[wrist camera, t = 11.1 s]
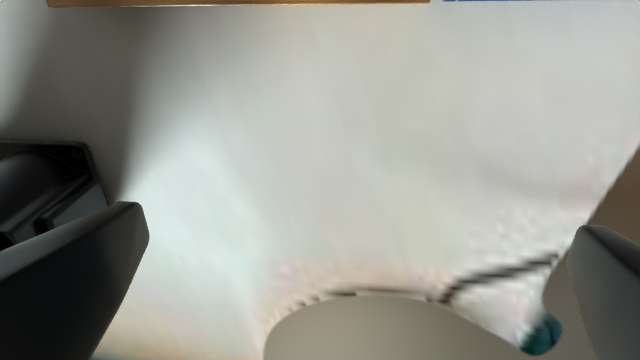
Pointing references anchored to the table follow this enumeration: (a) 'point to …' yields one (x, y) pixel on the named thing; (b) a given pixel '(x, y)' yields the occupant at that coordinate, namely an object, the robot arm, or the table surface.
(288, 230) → the table surface
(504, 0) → the tray
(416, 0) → the wooden box
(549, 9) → the table surface
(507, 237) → the table surface
